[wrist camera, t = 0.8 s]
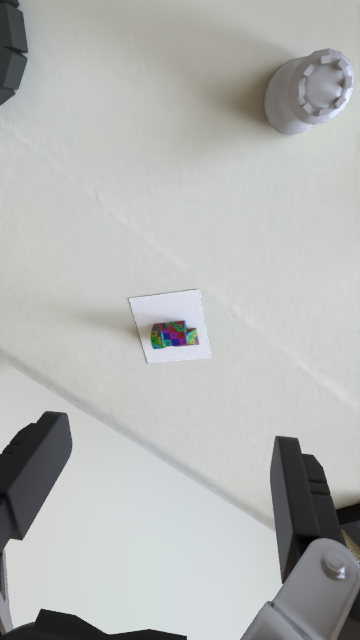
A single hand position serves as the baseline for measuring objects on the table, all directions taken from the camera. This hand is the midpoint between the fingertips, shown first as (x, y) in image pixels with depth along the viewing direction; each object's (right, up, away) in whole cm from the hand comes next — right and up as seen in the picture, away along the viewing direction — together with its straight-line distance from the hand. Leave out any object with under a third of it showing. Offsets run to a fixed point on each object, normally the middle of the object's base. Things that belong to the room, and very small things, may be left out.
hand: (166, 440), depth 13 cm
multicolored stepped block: (0, +4, +21) cm, 22 cm away
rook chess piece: (+9, +20, +11) cm, 25 cm away
